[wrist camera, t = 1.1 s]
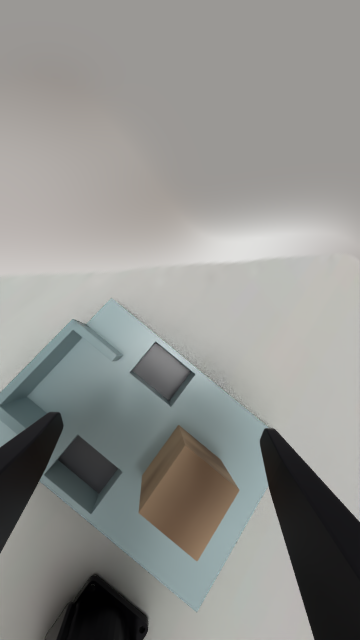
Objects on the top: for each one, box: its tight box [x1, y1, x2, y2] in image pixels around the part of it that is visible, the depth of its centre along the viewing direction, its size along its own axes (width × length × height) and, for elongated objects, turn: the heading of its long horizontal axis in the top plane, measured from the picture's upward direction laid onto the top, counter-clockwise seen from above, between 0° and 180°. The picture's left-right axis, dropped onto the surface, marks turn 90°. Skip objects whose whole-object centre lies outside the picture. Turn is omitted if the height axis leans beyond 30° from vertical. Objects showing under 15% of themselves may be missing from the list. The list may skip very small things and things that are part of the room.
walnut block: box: [138, 425, 240, 561], centre depth 15 cm, size 5×5×4 cm
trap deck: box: [0, 298, 268, 612], centre depth 17 cm, size 22×15×6 cm, turn 51°
